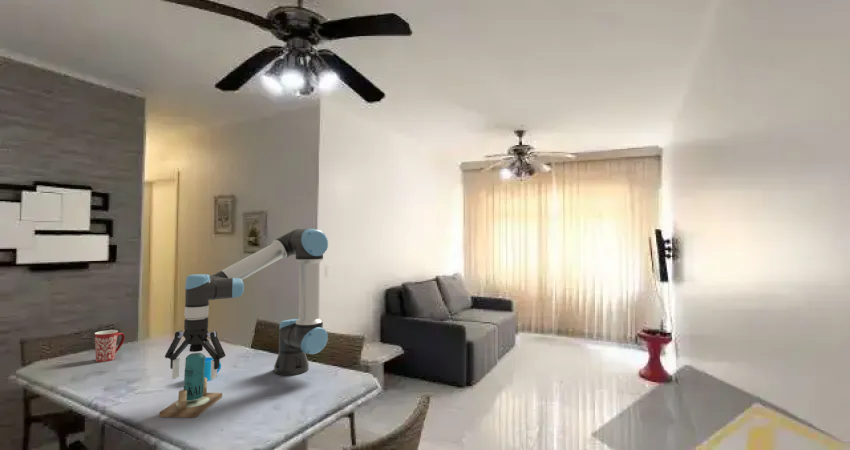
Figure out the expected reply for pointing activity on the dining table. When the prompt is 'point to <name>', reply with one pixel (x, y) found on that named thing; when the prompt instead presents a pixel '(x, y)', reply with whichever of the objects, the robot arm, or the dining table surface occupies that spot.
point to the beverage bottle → (194, 373)
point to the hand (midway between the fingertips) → (194, 378)
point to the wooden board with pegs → (190, 404)
